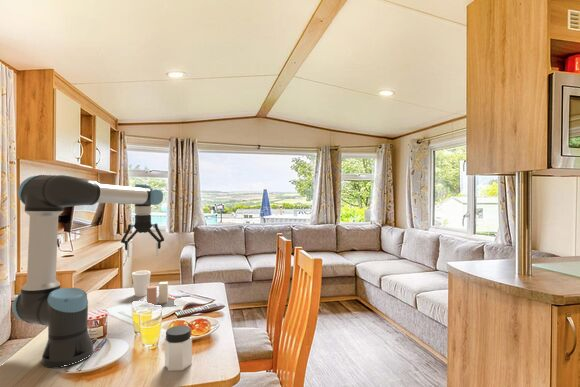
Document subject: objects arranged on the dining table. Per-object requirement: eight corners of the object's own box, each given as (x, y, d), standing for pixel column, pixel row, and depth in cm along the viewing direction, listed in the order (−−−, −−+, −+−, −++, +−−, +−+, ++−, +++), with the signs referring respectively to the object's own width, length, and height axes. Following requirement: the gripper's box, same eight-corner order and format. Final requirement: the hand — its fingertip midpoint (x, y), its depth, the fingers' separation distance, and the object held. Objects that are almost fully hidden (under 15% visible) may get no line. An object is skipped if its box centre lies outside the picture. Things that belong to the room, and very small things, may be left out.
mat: (189, 306, 170) (189, 305, 170) (142, 310, 164) (142, 308, 164) (189, 296, 185) (189, 295, 185) (147, 299, 180) (147, 298, 179)
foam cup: (128, 296, 184) (128, 272, 184) (144, 292, 192) (144, 269, 191) (137, 299, 179) (137, 275, 178) (153, 295, 186) (153, 272, 186)
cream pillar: (167, 302, 173) (167, 283, 173) (158, 303, 172) (159, 284, 171) (167, 300, 177) (167, 281, 176) (159, 300, 176) (159, 282, 175)
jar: (194, 358, 119) (194, 324, 119) (189, 370, 111) (189, 334, 111) (168, 359, 118) (168, 325, 118) (161, 371, 110) (161, 335, 110)
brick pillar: (156, 307, 166) (156, 287, 166) (147, 308, 164) (147, 288, 164) (155, 304, 170) (155, 285, 170) (146, 306, 168) (146, 286, 168)
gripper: (169, 213, 178) (169, 253, 178) (117, 214, 171) (117, 255, 171) (168, 214, 171) (168, 255, 171) (114, 215, 164) (114, 258, 164)
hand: (143, 255), depth 171 cm, fingers open, 13 cm apart
